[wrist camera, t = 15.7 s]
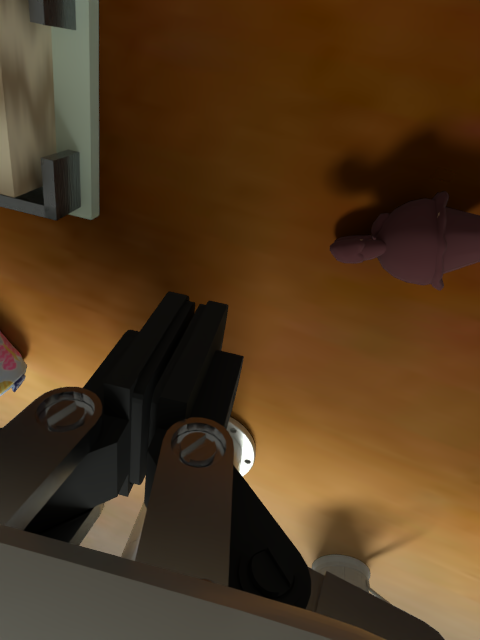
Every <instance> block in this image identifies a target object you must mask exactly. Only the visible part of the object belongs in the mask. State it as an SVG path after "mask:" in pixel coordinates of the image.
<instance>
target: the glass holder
mask: <svg viewBox="0 0 480 640" xmlns="http://www.w3.org/2000/svg"><path fill="white" fill-rule="evenodd" d="M312 569H313V570H315V571H317V572H319V573H321V574H322V575H324V574H325V572H326V571H328V572H330V573H332V574H334V575H336V576H338V577H339V578H341V579H343V580H345V581H347V582H349V583H351V584H353V585H355V586H357V587H359V588H361V589H362V590H364V591H366V592H368V593H369V591H370V592H371V593H372V594H374V595H375V596H376V597H378V598H380V599H382V600H384V601H385V602H387V603H389V602H388V601H387V600H385V599H384V598H383V597H381V596H380V595H379V594H377V593H376V592H375V591H374V590H373V589H371V588H370V585H369V578H370V570H369V568H368V567H367V566H366V565H365V564H364V563H363V562H361V561H360V560H358V559H355V558H353V557H350V556H345V555H326V556H322V557H320V558H318V559H316V560H315V561H314V562H313V564H312ZM389 604H390V603H389ZM391 605H392V604H391Z"/></svg>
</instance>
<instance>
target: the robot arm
mask: <svg viewBox="0 0 480 640" xmlns="http://www.w3.org/2000/svg"><path fill="white" fill-rule="evenodd" d="M194 311H195V302H190V301H189V296H187V295H183V294H178V293H174V292H168V293H167V294H166V296H165V297H164V298H163V300H162V301H161V303H160V304H159V305H158V307H157V308H156V310H155V311H154V312H153V314H152V315H151V317H150V318H149V319H148V321H147V322H146V324H145V325H144V326H143V328H142V329H141V331H140V332H138V331H134V330H128V331H127V332H126V333H125V334H124V335H123V336H122V338H121V339H120V340H119V342H118V343H117V344H116V345H115V347H114V348H113V349H112V351H111V352H110V353H109V355H108V356H107V357H106V359H105V360H104V361H103V362H102V364H101V365H100V366H99V368H98V369H97V370H96V372H95V373H94V374H93V376H92V377H91V378H90V379H89V381H88V382H87V383H86V385H85V386H84V387H83V388H80V387H63V388H58V389H54V390H51V391H49V392H46V393H44V394H43V395H41V396H40V397H38V398H37V399H36V400H34V401H33V402H32V403H31V404H30V405H29V406H27V407H26V408H25V409H24V410H23V411H22V412H20V413H19V414H18V415H17V416H16V417H15V418H14V419H12V420H11V421H10V422H9V423H8V424H7V425H5V426H4V427H3V428H0V640H445V639H444V638H443V637H442V636H441V635H440V633H439V632H438V631H436V630H435V629H434V628H432V627H431V626H429V625H428V624H427V623H425V622H424V621H422V620H420V619H418V618H416V617H414V616H412V615H410V614H409V613H407V612H405V611H403V610H401V609H399V608H397V607H395V606H393V605H391V604H389V603H387V602H385V601H384V600H382V599H380V598H378V597H376V596H374V595H372V594H370V593H368V592H366V591H364V590H362V589H361V588H359V587H357V586H355V585H353V584H351V583H349V582H347V581H345V580H343V579H341V578H339V577H338V576H336V575H334V574H332V573H330V572H328V571H326V572H325V574H324V575H322V574H321V573H319V572H317V571H315V570H313V569H311V568H309V567H308V566H307V564H306V563H305V561H304V559H303V557H302V556H301V554H300V553H299V551H298V550H297V549H296V547H295V546H294V545H293V543H292V542H291V541H290V539H289V538H288V537H287V535H286V534H285V533H284V531H283V530H282V529H281V527H280V526H279V525H278V523H277V522H276V521H275V519H274V518H273V517H272V515H271V514H270V513H269V511H268V510H267V509H266V507H265V506H264V505H263V503H262V502H261V501H260V499H259V498H258V497H257V495H256V494H255V493H254V491H253V490H252V489H251V487H250V486H249V485H248V483H247V482H246V481H245V479H244V478H243V477H242V476H244V475H245V474H246V473H247V472H248V471H249V470H250V469H251V468H252V466H253V463H254V460H255V454H256V448H255V443H254V440H253V438H252V436H251V435H250V433H249V432H248V431H247V429H246V428H245V427H244V426H243V425H242V424H240V423H239V422H238V421H237V420H235V419H233V418H232V417H230V415H231V411H232V407H233V403H234V399H235V395H236V391H237V387H238V382H239V378H240V373H241V368H242V363H243V358H244V356H240V355H236V354H232V353H228V352H223V351H221V348H222V342H223V336H224V330H225V324H226V318H227V312H228V305H227V304H222V303H218V302H213V301H208V302H207V304H206V305H203V304H200V305H199V307H198V308H197V310H196V312H195V314H194ZM145 475H146V482H145V499H144V502H143V505H142V507H141V510H140V512H139V515H138V517H137V519H136V522H135V524H134V527H133V529H132V531H131V534H130V536H129V539H128V541H127V543H126V546H125V548H124V550H123V553H122V555H121V557H118V556H115V555H111V554H107V553H104V552H100V551H96V550H93V549H89V548H85V547H82V546H79V545H80V543H81V542H82V540H83V539H84V537H85V536H86V534H87V533H88V532H89V530H90V529H91V527H92V526H93V524H94V523H95V521H96V520H97V519H98V517H99V516H100V514H101V512H102V510H103V508H104V503H105V502H106V501H108V500H111V499H113V498H115V497H117V496H118V494H119V495H123V496H127V497H128V495H129V493H130V491H131V488H132V486H133V484H138V485H141V483H142V482H143V480H144V477H145Z"/></svg>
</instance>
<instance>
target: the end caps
mask: <svg viewBox="0 0 480 640" xmlns="http://www.w3.org/2000/svg"><path fill="white" fill-rule="evenodd" d="M28 2H29V15H30V22H33V23H37V24H42V25H47V26H53V27H59V28H65V29H71V30H76V6H75V0H28ZM41 170H42V183H43V187H39V188H37V189H34V190H32V191H29V192H27V193H25V194H22V195H20V196H17V197H15V198H14V197H10V196H6V195H2V194H0V206H1V207H5V208H9V209H13V210H17V211H21V212H25V213H29V214H33V215H37V216H41V217H45V218H49V219H53V220H58V219H60V218H62V217H64V216H66V215H67V214H69V213H71V212H73V211H75V210H76V209H78V208H80V207H81V189H80V152H77V151H73V150H69V149H68V150H65V151H61V152H58V153H55V154H52V155H48V156H45V157H42V158H41Z"/></svg>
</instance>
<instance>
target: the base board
mask: <svg viewBox="0 0 480 640" xmlns="http://www.w3.org/2000/svg"><path fill="white" fill-rule="evenodd" d="M75 6H76V30H71V29H65V28H59V27H53V26H51V37H52V59H53V82H54V105H55V128H56V151H57V153H58V152H61V151H65V150H68V149H69V150H73V151H77V152H80V189H81V207H80V208H78V209H76V210H75V211H73V212H71V213H69V215H73V216H77V217H81V218H86V219H90V220H92V219H94V218H96V217H97V216H99V0H75ZM42 187H43V186H42Z"/></svg>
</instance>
